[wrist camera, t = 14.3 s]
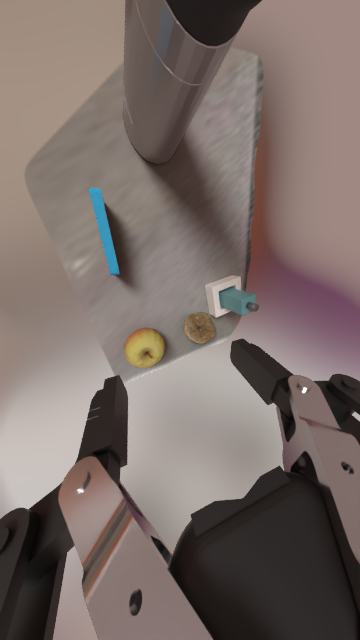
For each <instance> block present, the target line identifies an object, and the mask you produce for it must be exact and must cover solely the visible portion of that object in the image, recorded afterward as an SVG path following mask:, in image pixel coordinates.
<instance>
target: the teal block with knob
mask: <svg viewBox="0 0 360 640" xmlns="http://www.w3.org/2000/svg"><path fill="white" fill-rule="evenodd" d="M218 293H219V301H220V306H222V307H224V308H226V309H229V310H231V311H233V312H235V313H237V314H239V315H241V316H243V315H245V314H247V313H250V312H252V311H257V310H258V308H259V306H258V305H257V304H255V302H256V295H255V294H252V293H249V292H245V291H241V290H238V289H234V288H230V287H229V288H226V289H224V290H221V291H219V292H218Z"/></svg>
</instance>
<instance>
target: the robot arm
mask: <svg viewBox="0 0 360 640" xmlns="http://www.w3.org/2000/svg"><path fill="white" fill-rule="evenodd" d="M261 1H262V0H125V36H124V76H123V86H124V102H123V117H124V124H125V128H126V131H127V134H128V137H129V139H130V141H131V143H132V145H133V146H134V148H135V149H136V151H137V152H138V153H139V154H140V155H141V156H142V157H143V158H144V159H146V160H147V161H149V162H151V163H155V164H162V163H165V162H167V161H168V160H169V159H170V158H171V157H172V156H173V154H174V152H175V150H176V149H177V147H178V145H179V143H180V141H181V139H182V138H183V136H184V134H185V132H186V130H187V128H188V126H189V124H190V122H191V121H192V119H193V117H194V115H195V113H196V111H197V109H198V107H199V105H200V104H201V102H202V100H203V98H204V96H205V94H206V92H207V90H208V89H209V87H210V85H211V83H212V81H213V79H214V77H215V75H216V73H217V72H218V70H219V68H220V66H221V64H222V62H223V60H224V58H225V56H226V54H227V52H228V51H229V49H230V47H231V45H232V43H233V41H234V39H235V37H236V35H237V33H238V32H239V30H240V28H241V26H242V24H243V22H244V20H245V18H246V16H247V15H248V13H249V11H250V10H251V9H252V8H253V7H255V6H256V5H257V4H258V3H259V2H261ZM230 358H231V362H232V363H233V365H234V366H235V367H236V368H237V369H238V371H239V372H240V373H241V374H242V376H243V377H244V378H245V379H246V380H247V381H248V383H249V384H250V385H251V386H252V387H253V388H254V390H255V391H256V392H257V393H258V394H259V396H260V397H261V398H262V399H263V400H264V402H265V403H266V404H267V405H269V404H272V403H275V404H276V405H277V409H276V410H277V415H278V420H279V425H280V430H281V436H282V441H283V465H284V471H283V469H282V468H281V467H280V466H278V467H276V468H275V469H273V470H271V471H269V472H267V473H265V474H264V475H262V476H260V477H259V479H258V480H257V481H256V483H255V484H254V485H253V487H252V488H251V489H250V491H249V492H248V493H247V495H246V496H245V497H244V498H242V499H235V500H224V501H215V502H213V503H211V504H209V505H207V506H205V507H204V508H202V509H200V510H198V511H196V512H195V513H193V514H191V518H192V520H191V521H190V523H189V524H188V525H187V526H186V528H185V529H184V531H183V532H182V534H181V536H180V538H179V541H178V542H177V545H176V547H175V550H174V553H173V554H172V553H171V551H170V550H169V549H168V547H167V546H166V544H165V543H164V541H163V540H162V538H161V537H160V536H159V534H158V533H157V531H156V530H155V529H154V527H153V526H152V525H151V523H150V522H149V521H148V520H147V519H146V517H145V516H144V515H143V513H142V512H141V510H140V509H139V508H138V506H137V505H136V503H135V502H134V500H133V499H132V497H131V496H130V495H129V493H128V492H127V491H126V489H125V487H124V486H123V485H122V483H121V482H120V468H121V467H123V466H125V465H127V435H128V434H127V433H128V431H127V430H128V429H127V428H128V396H127V391H126V388H125V386H124V384H123V382H122V380H121V378H120V376H119V375H117V376H114V377H111V378H107V379H105V382H104V388H103V389H102V390H99V391H97V393H96V394H95V396H94V397H93V399H92V401H91V405H90V410H89V413H88V418H87V421H86V426H85V430H84V434H83V438H82V443H81V446H80V450H79V455H78V458H77V461H76V463H75V465H74V466H73V467H72V468H71V469H70V471H69V472H68V474H67V475H66V477H65V478H64V481H63V482H62V483H61V484H60V485H59V486H58V487H56V488H55V489H54V490H53V491H52V492H50V493H49V494H48V495H46V496H45V497H44V498H43V499H42V500H40V501H39V502H37V503H36V504H35V505H33V506H32V507H31V508H30V509H25V508H17V509H15V510H13V511H11V512H9V513H8V514H6V515H5V516H4V517H2V518H1V519H0V640H53V633H54V628H55V622H56V616H57V609H58V604H59V598H60V592H61V586H62V580H63V574H64V568H65V562H66V556H67V552H68V551H69V550H70V549H71V548H72V547H73V546H74V545H75V547H76V549H77V552H78V555H79V557H80V560H81V563H82V566H83V571H84V575H83V579H82V589H83V595H84V598H85V602H86V605H87V608H88V611H89V614H90V617H91V620H92V623H93V626H94V628H95V631H96V634H97V637H98V640H360V421H358V420H357V419H356V418H355V417H353V416H352V414H353V413H354V412H357V413H358V414H359V415H360V381H358V380H356V379H354V378H352V377H350V376H347V375H342V374H335V375H332V376H331V378H330V379H329V381H312V380H310V379H309V378H306V377H304V376H300V375H293V374H292V373H291V372H289V371H288V370H286V368H284V367H283V366H282V365H281V364H279V363H278V362H277V361H276V360H275V359H273V358H272V357H270V355H268V354H267V353H265V351H263V350H262V349H261V348H260V347H258V346H256V345H254V344H252V343H251V344H249V343H248V342H247V341H245V340H244V339H239V340H236V341H233V342H232V345H231V354H230Z"/></svg>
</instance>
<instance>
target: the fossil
mask: <svg viewBox="0 0 360 640" xmlns="http://www.w3.org/2000/svg"><path fill="white" fill-rule="evenodd" d="M184 332H185V333H186V335H187V336H188V338H189V339H190V340H192V341H193V342H195V343H198V344H203V343H206V342H207V341H208V340H209V339H211V338H213V337H214V336H215V333H216V329H215V326H214V324H213V322H212V320H211V317H210V316H209V315H208V314H206V313H204V312H199V313H197V314H190V315H188V316H187V317H186V319H185V322H184Z"/></svg>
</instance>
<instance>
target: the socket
mask: <svg viewBox="0 0 360 640" xmlns="http://www.w3.org/2000/svg"><path fill="white" fill-rule="evenodd" d="M229 287H230V288H234V289H238V290H241V277H240V276H234V275H231V276H228V277H225V278H223V279H220V280H217V281H215V282H212V283H209V284H207V285H205V289H206V295H207V301H208V307H209V313H210V314H211V315H213V316H214V317H216V318H217V317H219V316H221V315H224V314H226V313H228V312H230V311H231V310H229V309H226V308H224V307H222V306H220V301H219V293H218V292H219V291H221V290H224V289H226V288H229Z"/></svg>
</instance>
